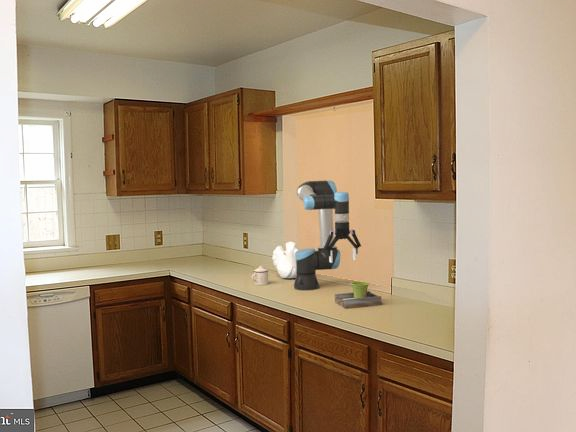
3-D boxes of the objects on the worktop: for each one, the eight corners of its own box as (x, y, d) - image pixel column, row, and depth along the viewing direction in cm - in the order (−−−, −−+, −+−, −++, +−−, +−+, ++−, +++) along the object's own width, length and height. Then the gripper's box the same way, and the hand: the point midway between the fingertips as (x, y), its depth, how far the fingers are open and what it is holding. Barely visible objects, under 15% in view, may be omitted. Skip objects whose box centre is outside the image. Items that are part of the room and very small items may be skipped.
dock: (335, 302, 287) (334, 294, 287) (369, 299, 293) (369, 290, 292) (345, 308, 273) (345, 300, 273) (381, 304, 279) (381, 296, 279)
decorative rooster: (307, 278, 356) (306, 241, 354) (287, 281, 348) (286, 243, 346) (288, 273, 378) (287, 238, 376) (268, 276, 369) (267, 240, 368)
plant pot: (357, 296, 290) (357, 280, 290) (372, 298, 284) (372, 282, 283) (347, 299, 283) (347, 283, 283) (362, 302, 277) (362, 285, 277)
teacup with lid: (262, 282, 350) (261, 264, 349) (271, 283, 343) (270, 265, 342) (247, 285, 342) (247, 266, 341) (256, 286, 335) (256, 268, 334)
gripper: (322, 223, 276) (323, 264, 278) (366, 220, 283) (367, 260, 285) (317, 222, 283) (318, 262, 285) (360, 219, 290) (361, 258, 292)
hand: (342, 261), depth 285 cm, fingers open, 13 cm apart
